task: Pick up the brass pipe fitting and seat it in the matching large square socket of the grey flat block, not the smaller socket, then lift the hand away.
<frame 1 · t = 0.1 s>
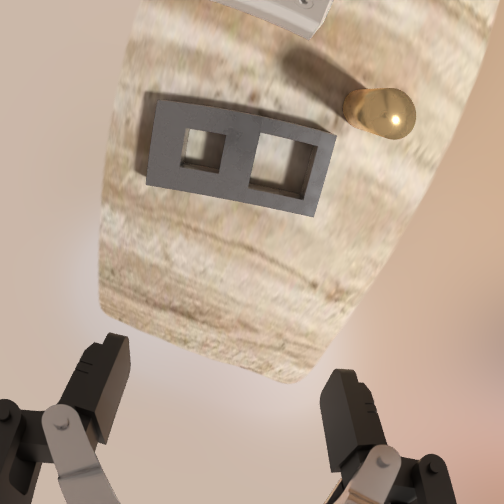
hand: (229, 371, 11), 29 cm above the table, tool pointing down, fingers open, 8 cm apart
grey flat block: (239, 153, 36), on the table
fitting: (362, 109, 33), on the table
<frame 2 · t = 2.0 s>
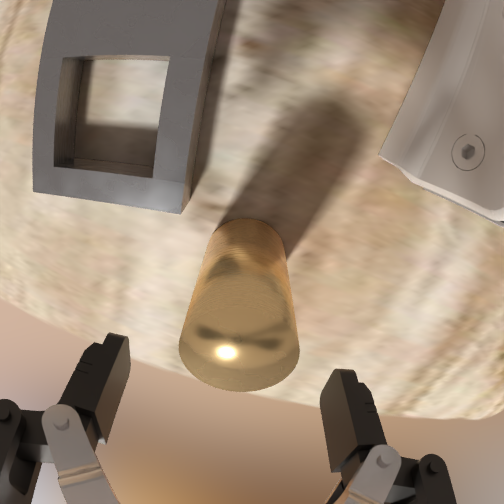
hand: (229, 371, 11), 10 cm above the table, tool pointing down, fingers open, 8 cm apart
grey curved housing: (466, 83, 15), on the table
grey flat block: (134, 32, 14), on the table
fitting: (245, 254, 21), on the table
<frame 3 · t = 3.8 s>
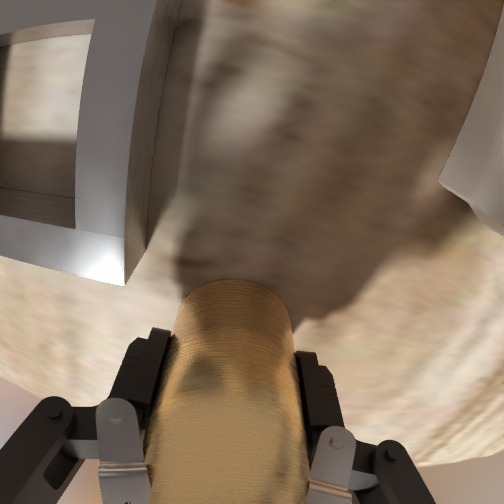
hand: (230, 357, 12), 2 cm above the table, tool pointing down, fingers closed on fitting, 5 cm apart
fitting: (233, 326, 14), on the table, touching gripper
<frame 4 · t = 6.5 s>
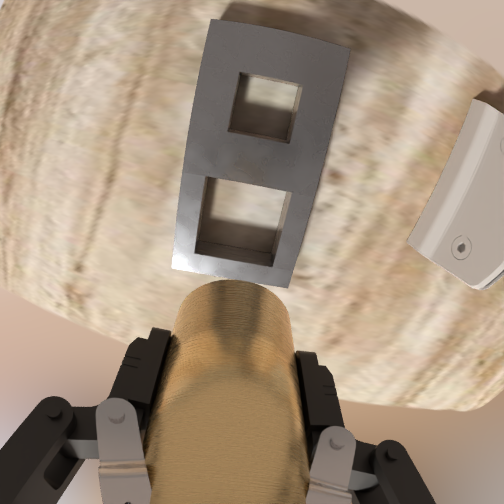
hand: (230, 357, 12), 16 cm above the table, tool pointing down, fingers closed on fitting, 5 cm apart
grey curved housing: (466, 186, 26), on the table
grey flat block: (253, 155, 25), on the table
fitting: (233, 327, 14), point 15 cm above the table, touching gripper
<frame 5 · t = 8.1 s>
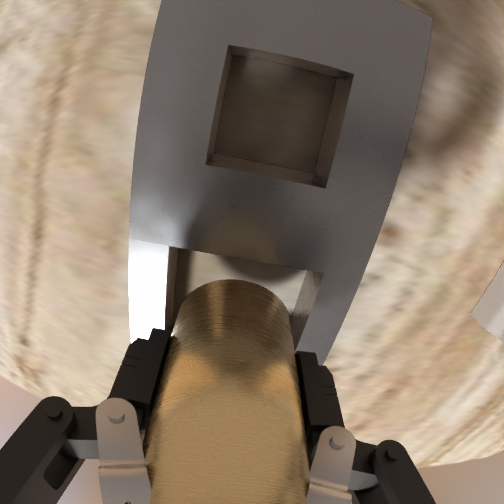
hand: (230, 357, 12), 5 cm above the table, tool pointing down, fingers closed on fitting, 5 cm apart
grey flat block: (256, 200, 14), on the table
fitting: (233, 327, 14), point 3 cm above the table, touching gripper
when the fingers open (3 cm above the table, at t = 9.2 s): fitting drops 1 cm, resting in grey flat block.
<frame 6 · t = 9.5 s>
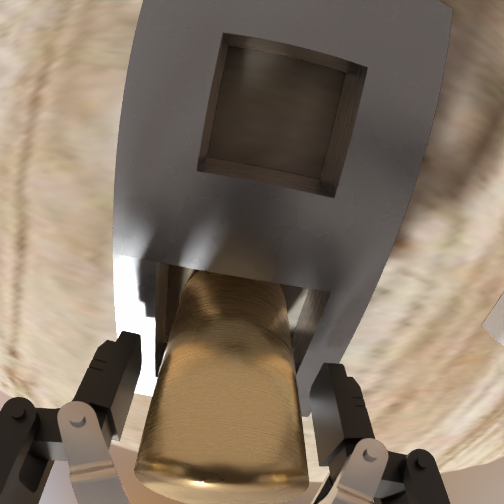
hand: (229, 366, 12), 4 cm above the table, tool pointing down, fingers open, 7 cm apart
grey flat block: (255, 208, 13), on the table
fitting: (233, 306, 15), resting in grey flat block
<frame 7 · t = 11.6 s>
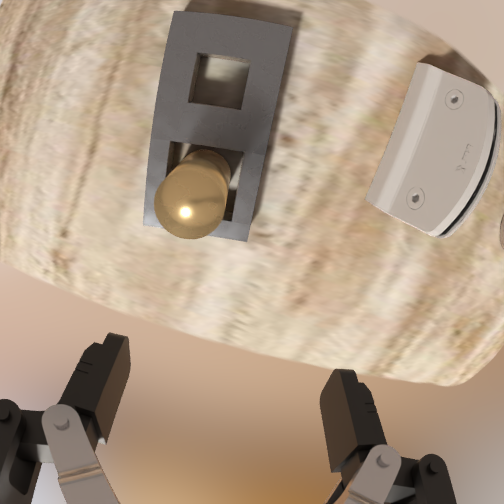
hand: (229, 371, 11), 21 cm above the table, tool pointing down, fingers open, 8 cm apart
grey curved housing: (420, 144, 28), on the table
grey flat block: (213, 123, 27), on the table
fitting: (204, 175, 29), resting in grey flat block
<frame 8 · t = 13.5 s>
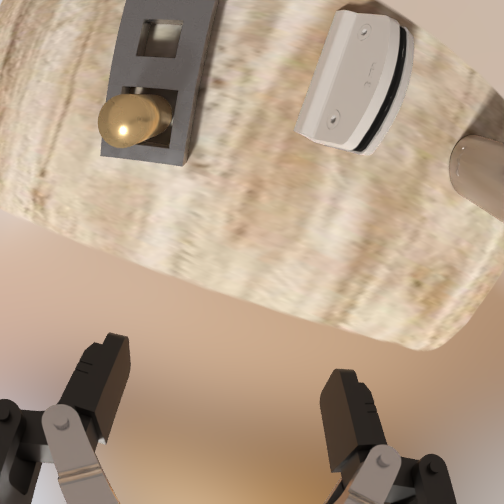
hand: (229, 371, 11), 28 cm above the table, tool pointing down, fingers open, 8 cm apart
grey curved housing: (346, 80, 31), on the table
grey flat block: (158, 73, 30), on the table
fitting: (151, 115, 33), resting in grey flat block
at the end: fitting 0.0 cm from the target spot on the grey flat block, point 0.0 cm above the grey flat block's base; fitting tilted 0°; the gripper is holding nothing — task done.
